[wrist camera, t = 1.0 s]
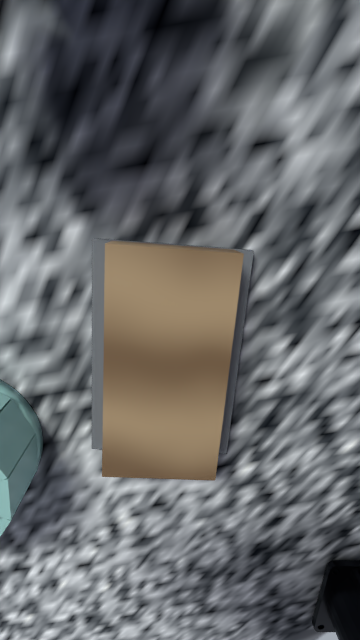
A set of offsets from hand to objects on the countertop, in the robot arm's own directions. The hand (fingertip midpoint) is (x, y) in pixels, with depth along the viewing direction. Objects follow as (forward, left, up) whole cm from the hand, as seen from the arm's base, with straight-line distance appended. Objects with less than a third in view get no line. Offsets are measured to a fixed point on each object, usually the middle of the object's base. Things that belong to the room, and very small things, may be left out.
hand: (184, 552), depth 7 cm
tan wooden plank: (0, 0, -11) cm, 11 cm away
